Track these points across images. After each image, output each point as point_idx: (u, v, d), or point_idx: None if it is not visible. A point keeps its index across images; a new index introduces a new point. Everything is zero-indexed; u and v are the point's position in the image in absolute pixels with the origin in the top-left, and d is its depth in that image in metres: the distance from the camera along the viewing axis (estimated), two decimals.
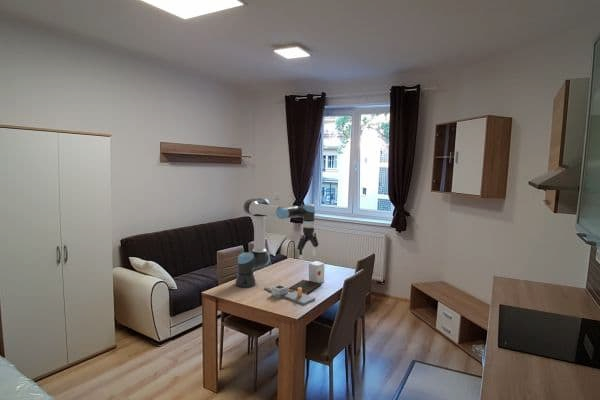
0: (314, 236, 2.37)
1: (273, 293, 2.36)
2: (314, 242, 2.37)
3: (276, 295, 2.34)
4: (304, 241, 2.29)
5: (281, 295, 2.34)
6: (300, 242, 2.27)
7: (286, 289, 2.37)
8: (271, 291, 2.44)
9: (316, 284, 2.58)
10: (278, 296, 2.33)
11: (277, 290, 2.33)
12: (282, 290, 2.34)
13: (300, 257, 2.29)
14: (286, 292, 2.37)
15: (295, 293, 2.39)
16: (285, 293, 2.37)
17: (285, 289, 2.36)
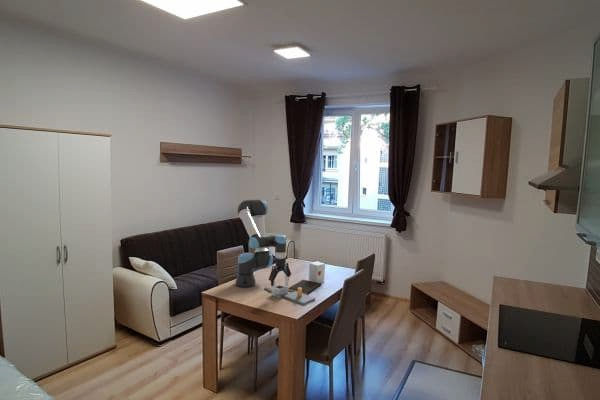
0: (286, 266, 2.40)
1: (273, 293, 2.36)
2: (286, 272, 2.40)
3: (276, 295, 2.34)
4: (276, 272, 2.33)
5: (281, 295, 2.34)
6: (271, 273, 2.30)
7: (286, 289, 2.37)
8: (271, 291, 2.44)
9: (316, 284, 2.58)
10: (278, 296, 2.33)
11: (277, 290, 2.33)
12: (282, 290, 2.34)
13: (272, 288, 2.32)
14: (286, 292, 2.37)
15: (295, 293, 2.39)
16: (285, 293, 2.37)
17: (285, 289, 2.36)
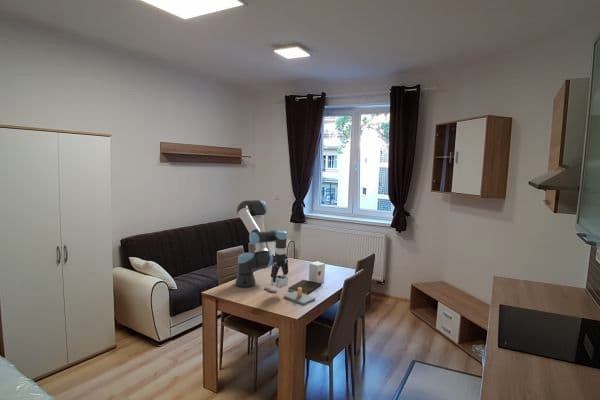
0: (286, 263, 2.40)
1: None
2: (285, 269, 2.39)
3: None
4: (276, 268, 2.33)
5: (281, 285, 2.33)
6: (272, 270, 2.31)
7: (286, 279, 2.37)
8: (271, 291, 2.44)
9: (316, 284, 2.58)
10: (278, 286, 2.33)
11: (277, 280, 2.33)
12: (282, 280, 2.34)
13: (274, 284, 2.35)
14: (286, 282, 2.37)
15: (295, 293, 2.39)
16: (285, 283, 2.36)
17: (285, 279, 2.36)
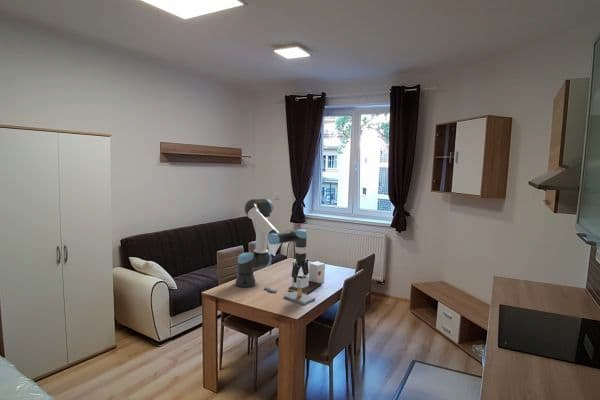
0: (306, 262, 2.34)
1: None
2: (305, 269, 2.33)
3: None
4: (297, 268, 2.28)
5: (302, 285, 2.27)
6: (293, 270, 2.25)
7: (307, 279, 2.31)
8: (271, 291, 2.44)
9: (316, 284, 2.58)
10: (299, 286, 2.27)
11: (298, 280, 2.27)
12: (303, 280, 2.28)
13: (295, 285, 2.28)
14: (307, 282, 2.31)
15: (295, 293, 2.39)
16: (306, 283, 2.30)
17: (306, 279, 2.30)
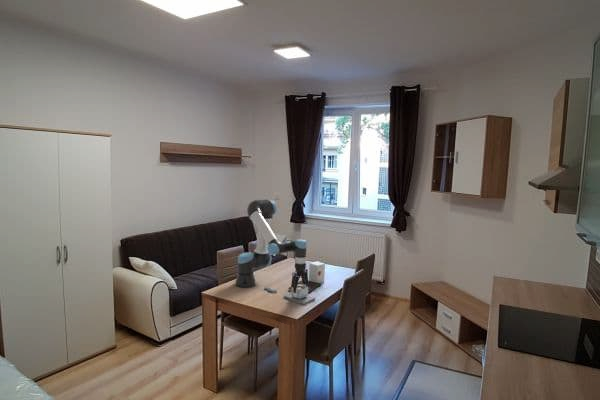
0: (306, 272, 2.35)
1: (293, 293, 2.31)
2: (305, 279, 2.34)
3: None
4: (297, 278, 2.28)
5: (302, 295, 2.28)
6: (293, 280, 2.26)
7: (306, 289, 2.32)
8: (271, 291, 2.44)
9: (316, 284, 2.58)
10: (299, 296, 2.28)
11: (297, 290, 2.28)
12: (303, 290, 2.28)
13: (294, 295, 2.29)
14: (306, 292, 2.32)
15: None
16: (305, 293, 2.31)
17: (305, 289, 2.31)
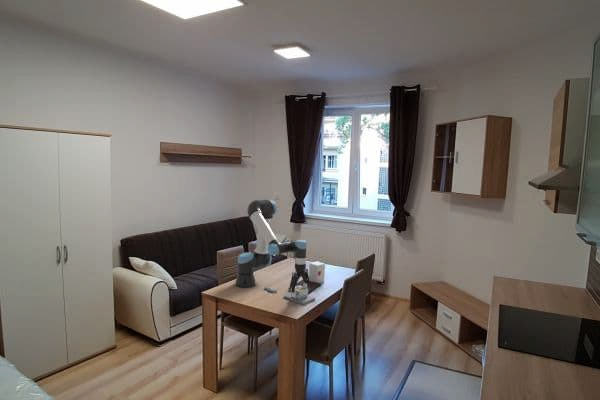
0: (306, 272, 2.35)
1: None
2: (305, 278, 2.35)
3: (296, 296, 2.29)
4: (296, 278, 2.28)
5: (301, 296, 2.28)
6: (292, 280, 2.26)
7: (306, 290, 2.32)
8: (271, 291, 2.44)
9: (316, 284, 2.58)
10: (298, 297, 2.28)
11: (297, 291, 2.28)
12: (302, 291, 2.28)
13: (293, 295, 2.28)
14: (306, 293, 2.32)
15: None
16: (305, 294, 2.31)
17: (305, 290, 2.31)
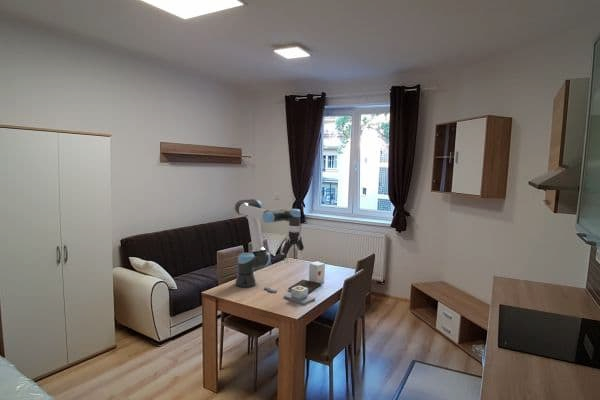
0: (299, 240, 2.43)
1: (293, 294, 2.31)
2: (299, 246, 2.43)
3: (296, 296, 2.29)
4: (289, 245, 2.36)
5: (301, 296, 2.28)
6: (285, 246, 2.33)
7: (306, 290, 2.32)
8: (271, 291, 2.44)
9: (316, 284, 2.58)
10: (298, 297, 2.28)
11: (297, 291, 2.28)
12: (302, 291, 2.28)
13: (285, 260, 2.35)
14: (306, 293, 2.32)
15: None
16: (305, 294, 2.31)
17: (305, 290, 2.31)
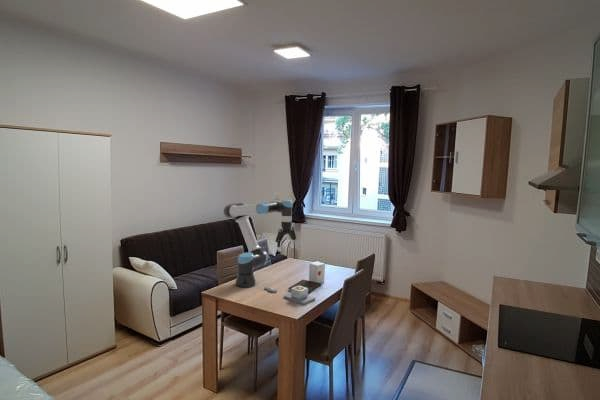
0: (292, 230, 2.54)
1: (293, 294, 2.31)
2: (292, 235, 2.54)
3: (296, 296, 2.29)
4: (282, 234, 2.46)
5: (301, 296, 2.28)
6: (278, 235, 2.44)
7: (306, 290, 2.32)
8: (271, 291, 2.44)
9: (316, 284, 2.58)
10: (298, 297, 2.28)
11: (297, 291, 2.28)
12: (302, 291, 2.28)
13: (278, 249, 2.46)
14: (306, 293, 2.32)
15: None
16: (305, 294, 2.31)
17: (305, 290, 2.31)
